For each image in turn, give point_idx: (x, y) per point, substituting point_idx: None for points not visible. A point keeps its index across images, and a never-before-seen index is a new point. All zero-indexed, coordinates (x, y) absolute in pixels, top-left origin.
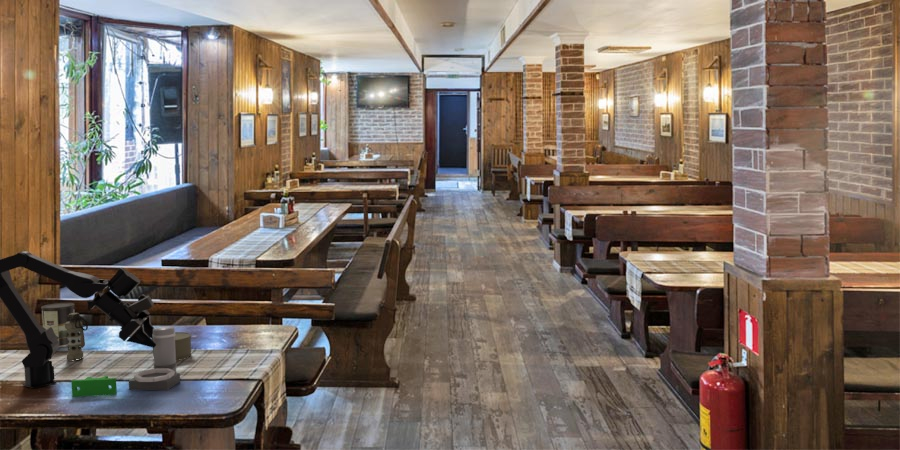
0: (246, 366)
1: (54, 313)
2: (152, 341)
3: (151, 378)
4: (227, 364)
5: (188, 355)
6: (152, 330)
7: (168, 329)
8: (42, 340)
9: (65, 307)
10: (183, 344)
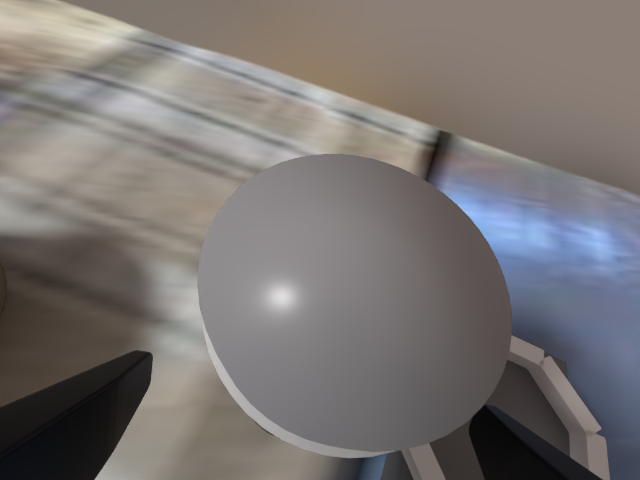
0: (301, 121)
1: None
2: (551, 444)
3: (605, 444)
4: (245, 152)
5: None
6: (19, 472)
7: (423, 214)
8: None
9: None
10: None
